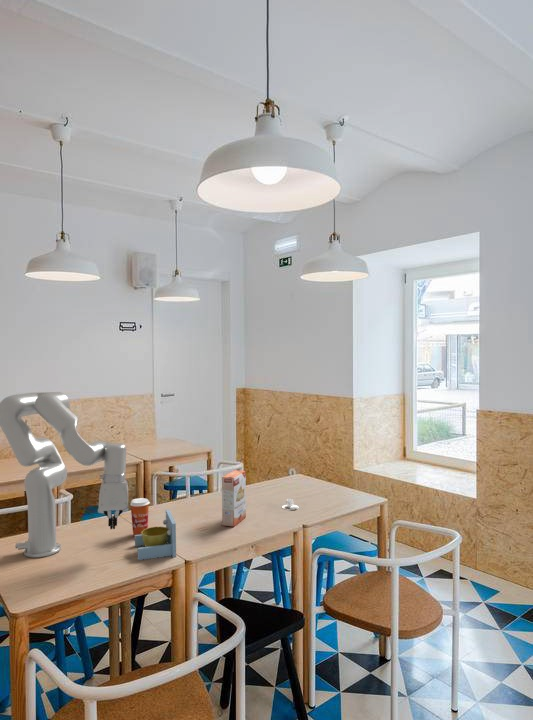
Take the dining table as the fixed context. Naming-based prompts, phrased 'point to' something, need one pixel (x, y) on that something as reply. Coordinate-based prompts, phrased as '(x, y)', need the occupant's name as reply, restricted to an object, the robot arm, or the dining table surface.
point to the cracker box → (233, 498)
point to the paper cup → (139, 515)
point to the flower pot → (155, 536)
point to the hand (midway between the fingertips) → (112, 527)
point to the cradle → (159, 549)
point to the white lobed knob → (290, 505)
